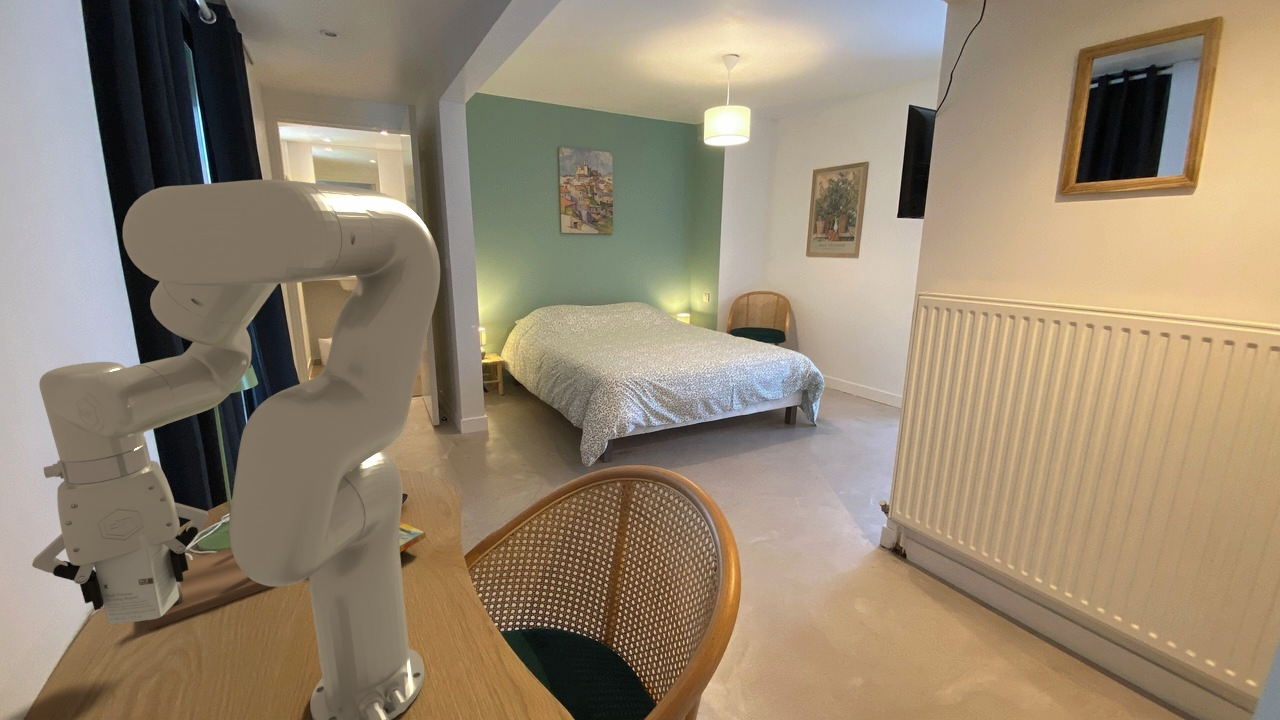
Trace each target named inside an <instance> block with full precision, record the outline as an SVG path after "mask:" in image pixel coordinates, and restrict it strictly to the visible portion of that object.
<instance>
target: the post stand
mask: <svg viewBox="0 0 1280 720" xmlns="http://www.w3.org/2000/svg"><path fill="white" fill-rule="evenodd" d="M187 564H188V569H189V570H187V571H184V572H183V580H184V581H182V582H176V583H177V588H178V593H179V598H178V600H177V601H176V602H175V603H174V604H173V605H172V606H171V608H170V609H169V610H168V611H167V612H166V613H165V614H164V615H163V616H161V617H160V618H157V619H151V620H147V623H148V627H149V630H150V631H151V630H153V629H156V628H159V627H162V626H164V625H168V624H171V623H173V621H174V622H176V621H178V620H179V621H180V620H182V619H184V617H185V618H187V616H188V617H190V616H192V615H197V614H199V613H201V612H204V611H207V610H210V609H212V608H215V607H218V606H221V605H224V604H227V603H229V602H232V601H234V600H235V601H236V600H238V599H241V598H243V597H246V596H249V595H252V594H254V593H257V592H260V591H262V590H266V589H269V588H272V587H273V586H266V585H262V584H260V583H257V582H255V581H253V580H252V579H250V578H249V577H248V576H247V575H246V574H245V573H244V572H243V571H242V570H241V569H240V567H239V566H238V564H237V563H236V561H235V558H234V556H233V553H232V550H231V547H230V548H226V549H222V550H219V551H217V552H213V553H210V554H206V555H204V556H200V557H197V558H192V559H189V560H187ZM175 579H176V578H175Z"/></svg>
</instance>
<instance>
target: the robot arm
mask: <svg viewBox="0 0 1280 720" xmlns="http://www.w3.org/2000/svg"><path fill="white" fill-rule="evenodd" d="M122 240H123V245H124V246H123V247H124V248H125V251H126V253H127V255H128V257H129V259H130V260H131V261H132V263H133V264H134V266H136V267H137V269H139V270H140V271H141V272H142V273H143V274H145V275H147V276H148V277H149V278H151V279H153V280H156V281H157V282H158V284H157V286H156V287H154V290H153V291H152V293H151V296H150V302H149V303H150V310H151V311H152V314H153V316H154V318H156V320H157V321H158V322H159V323H160V324H161V325H162V326H163V327H165V328H166V329H167V330H168V331H170V332H171V333H173V334H175V335H176V336H179V337H180V338H183V339H185V340H187V341H190V342H192V343H191V344H190V346H189V347H188V348H187V349H186V351H185V352H183V353H182V354H181V355H177V356H173V357H172V356H171V357H165V358H162V359H157V360H153V361H149V362H144V363H140V364H136V365H132V366H129V367H126V366H125V365H123V364H121V363H119V362H111V361H98V362H97V361H94V362H85V363H78V364H71V365H66V366H61V367H57V368H54V369H51V370H48V371H47V372H45V373H44V374H42V376H41V377H40V378H39V379H40V380H39V385H38V386H39V390H40V395H41V399H42V401H43V405H44V408H45V411H46V415H47V418H48V423H49V426H50V429H51V433H52V436H53V440H54V443H55V447H56V450H57V455H58V457H59V460H57V462H56V463H53V464H52V465H48V466H44V467H43V474H44V477H45V478H46V479H49V478H54V477H55V478H59V477H60V479H63V480H64V481H62V482H60V484H59V486H58V487H57V492H56V493H57V495H56V496H57V499H56V500H57V512H58V518H59V525H60V530H61V534H59V535H58V536H57V537H56V538H55V539H54V540H53V541H51V542H50V544H48V545H47V546H46V547H45V548H44V549H43V550H42V551H41V552H40V553H39V554H37V555H36V556H35V557H34V558H33V560H32V562H31V563H32V564H31V566H32V567H33V568H35V569H37V570H40V571H42V572H46V573H48V574H49V573H50V574H52V575H53V576H54V577H58V578H61V579H66V580H68V581H69V580H70V581H73V582H74V584H76V585H79V586H80V590H81V594H82V596H83V601H84V603H85V604H88V603H92V605H93V609H94V611H97V610H100V609H102V608H104V605H103V600H102V596H101V592H100V588H99V584H98V579H97V575H96V571H95V567H94V565H95V563H98V562H102V561H105V560H109V559H112V558H116V557H119V556H122V555H126V554H129V553H133V552H135V551H137V550H139V549H141V542H140V538H139V534H141V533H144V532H145V533H146V534H147V538H148V543H149V546H150V547H153V546H156V545H159V544H162V543H163V544H164V545H166V546H167V547H168V548H170V557H171V562H172V566H173V570H174V574H175V578H176V582H182V581H184V580H183V572H184V571H187V570H189V569H188V564H187V561H188V560H187V556H186V550H187V547H188V546H189V545H190V544H191V543H192V542H193V540H194V539H195V538H196V536H197V535H198V534H199V532H200V530H201V529H202V528H203V526H204V525H205V524H206V522H207V521H208V520H209V513H208V511H207V510H204V509H200V508H197V507H193V506H190V505H186V504H182V503H178V502H176V501H175V499H174V496H173V493H172V489H171V487H170V484H169V482H168V479H167V477H166V475H165V473H164V471H163V469H162V467H161V466H160V465H159V462H157V461H155V460H151V456H150V452H149V448H148V444H147V440H146V436H145V432H148V431H152V430H154V429H158V428H160V427H163V426H165V425H167V424H168V425H169V424H170V423H173V422H176V421H179V420H182V419H185V418H189V417H190V416H191V417H192V416H194V415H195V416H196V415H197V414H200V413H203V412H205V411H208V410H211V409H213V408H215V407H216V406H218V405H219V404H221V403H222V402H223V401H225V399H226V398H227V397H228V396H229V395H230V394H231V393H232V392H233V391H234V389H235V388H236V387H237V385H238V384H239V383H240V381H241V380H242V378H243V377H244V376H245V375H246V373H247V372H248V370H249V367H250V366H251V361H252V343H251V337H250V334H249V332H248V330H247V328H248V326H249V325H250V323H251V322H252V320H254V318H255V316H256V315H257V314H258V312H259V311H260V310H261V308H262V306H263V305H264V304H265V303H266V301H267V300H268V298H269V297H270V296H271V294H272V293H273V292H274V290H275V289H276V287H277V286H278V285H279V284H280V285H282V284H298V283H306V282H314V281H322V280H323V281H324V280H332V279H340V278H349V277H356V279H357V280H356V281H357V282H356V283H355V284H356V285H355V287H354V289H353V291H351V293H350V295H349V297H348V298H347V299H346V301H345V302H344V303H343V306H342V308H340V309H341V310H340V311H339V314H338V315H337V318H336V321H335V323H334V325H333V331H332V336H331V343H330V349H329V353H328V356H327V360H326V363H325V365H324V368H323V370H322V371H321V372H320V373H319V374H318V375H317V376H315V377H314V378H311V379H310V380H307V381H304V382H302V383H299V384H295V385H293V386H290V387H288V388H286V389H283V390H280V391H279V392H277V393H275V394H273V395H271V396H270V397H268V398H266V400H264V401H262V403H260V404H259V405H258V406H257V408H256V409H255V410H254V411H253V412H252V413H251V415H250V417H249V419H248V420H247V422H246V424H245V426H244V428H243V431H242V434H241V439H240V444H239V449H238V453H237V454H238V456H237V462H236V470H235V476H234V484H233V491H232V499H231V505H230V511H229V512H230V514H229V522H228V523H229V524H228V539H229V545H230V548H231V550H232V553H233V556H234V558H235V561H236V563H237V564H238V566H239V567H240V569H241V570H242V571H243V572H244V573H245V574H246V575H247V576H248V577H249V578H250V579H252V580H253V581H255V582H257V583H260V584H262V585H266V586H272V587H275V588H276V587H287V586H290V585H294V584H298V583H300V582H302V581H304V580H305V579H307V578H308V590H309V596H310V597H309V598H310V601H311V602H310V603H311V611H312V616H313V625H314V631H315V638H316V645H317V651H318V658H319V665H320V671H321V678H320V680H319V681H318V682H317V683H316V685H315V687H314V689H313V691H312V692H311V698H310V702H309V703H310V713H311V717H312V720H394V719H395V718H396V717H397V716H399V715H400V714H402V713H404V712H405V711H406V710H407V709H408V707H409V706H410V705H411V704H412V703H413V702H414V701H415V699H416V698H417V696H418V695H419V694H420V691H421V689H422V688H423V684H424V681H425V665H424V661H423V659H422V656H421V655H420V654H419V653H418V652H417V651H416V650H414V649H412V648H411V647H409V637H408V636H409V635H408V628H407V625H408V624H407V617H406V607H405V596H404V595H405V594H404V584H403V576H402V575H403V574H402V573H403V572H402V570H403V569H402V562H401V552H400V545H399V527H400V522H401V514H402V508H403V489H404V488H403V481H402V476H401V473H400V471H399V468H398V467H397V465H396V463H395V462H394V460H393V459H392V458H391V457H390V456H389V455H388V454H387V453H386V452H384V451H383V450H385V449H386V448H388V447H389V446H391V445H392V444H393V443H394V442H395V441H396V440H397V439H398V438H399V437H400V436H401V435H402V433H403V432H404V429H405V426H406V423H407V420H408V417H409V413H410V408H411V404H412V399H413V396H414V391H415V387H416V382H417V377H418V374H419V370H420V365H421V362H422V356H423V352H424V348H425V347H424V346H425V343H426V339H427V335H428V331H429V327H430V324H431V321H432V317H433V314H434V310H435V307H436V304H437V299H438V295H439V289H440V282H441V263H440V262H441V260H440V256H439V252H438V248H437V246H436V242H435V240H434V238H433V236H432V233H431V231H430V230H429V229H428V227H427V225H426V224H425V223H424V221H423V220H422V218H421V217H420V216H419V215H418V214H417V212H415V211H414V210H413V209H412V208H410V207H409V206H408V204H405V203H404V202H402V201H401V200H398V199H397V198H394V197H393V196H390V195H389V194H385V193H383V192H381V191H376V190H372V189H367V188H361V187H353V186H345V185H335V184H334V185H333V184H323V183H314V182H307V181H306V182H305V181H296V180H284V179H252V180H251V179H249V180H237V181H236V180H235V181H226V182H214V183H213V182H212V183H202V184H200V183H199V184H187V185H186V184H185V185H169V186H168V185H167V186H162V187H157V188H156V189H155V188H154V189H152V190H149V191H148V192H146V193H144V194H143V195H141V196H140V197H139V198H137V199H136V200H135V201H134V202H133V204H132V205H131V206H130V207H129V209H128V211H127V212H126V215H125V218H124V221H123V225H122ZM179 518H182V519H187V520H189V521H190V523H189V524H188V525H187V526H186V527H185V528H184V529H183V531H182V532H180V528H181V527H180V525H181V524H180V519H179ZM64 550H65V551H66V555H67V558H68V561H67V560H60V559H59V558H57V556H59V554H60V553H61V552H63V551H64Z"/></svg>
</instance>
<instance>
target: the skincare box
mask: <svg viewBox="0 0 1280 720" xmlns="http://www.w3.org/2000/svg"><path fill="white" fill-rule="evenodd" d="M139 538H140V542H141V549H139V550H137V551H135V552H133V553H129V554H126V555H122V556H119V557H116V558H112V559H109V560H105V561H102V562H98V563H95V565H94V570H95V571H96V575H97V579H98V584H99V588H100V592H101V596H102V600H103V609H104V612H105V616H106V622H107V624H108V625H115V624H116V625H117V624H127V623H135V622H143V621H148V620H151V619H157V618H160V617H161V616H163V615H164V614H165V613H166V612H167V611H168V610H169V609H170V608H171V606H172V605H173V604H174V603H175V602H176V601H177V600H178V598H179V593H178V588H177V583H176V579H175V574H174V570H173V566H172V562H171V557H170V548H168V547H167V546H166V545H164V544H163V543H162V544H159V545H156V546H153V547H150V546H149V543H148V538H147V534H146V533H145V532H144V533H141V534H139Z"/></svg>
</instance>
